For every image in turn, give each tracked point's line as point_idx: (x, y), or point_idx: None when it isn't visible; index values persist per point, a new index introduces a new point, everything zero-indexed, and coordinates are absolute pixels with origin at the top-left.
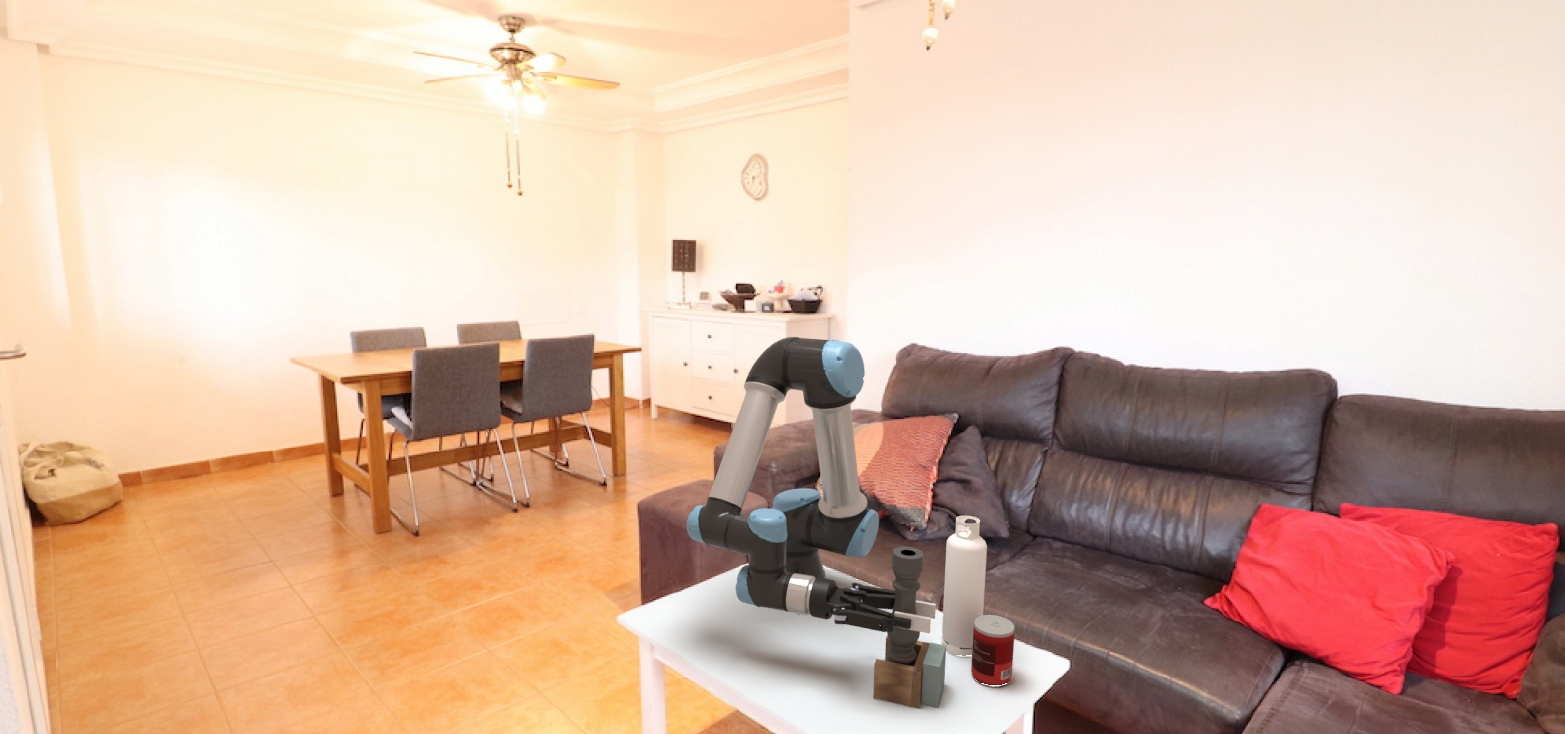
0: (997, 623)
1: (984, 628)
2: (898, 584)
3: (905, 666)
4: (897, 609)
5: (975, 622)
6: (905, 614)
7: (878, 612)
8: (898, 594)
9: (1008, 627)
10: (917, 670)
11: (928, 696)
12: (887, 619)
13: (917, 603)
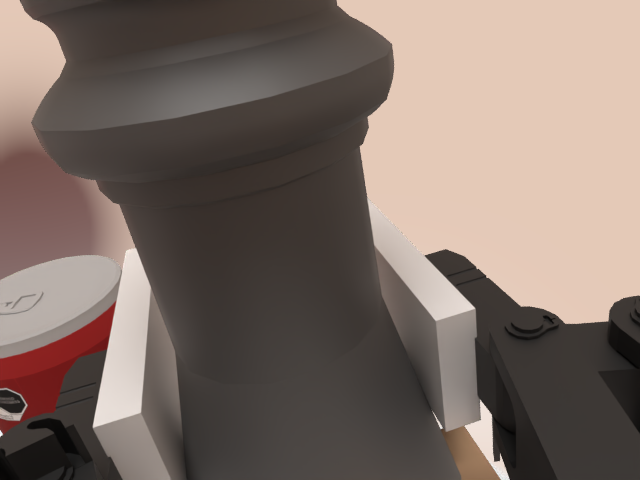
0: (17, 300)
1: (69, 310)
2: (349, 24)
3: None
4: (383, 331)
5: (33, 332)
6: (419, 260)
7: (631, 422)
8: (355, 173)
9: (44, 275)
10: (458, 440)
11: None
12: (628, 304)
13: (151, 317)
